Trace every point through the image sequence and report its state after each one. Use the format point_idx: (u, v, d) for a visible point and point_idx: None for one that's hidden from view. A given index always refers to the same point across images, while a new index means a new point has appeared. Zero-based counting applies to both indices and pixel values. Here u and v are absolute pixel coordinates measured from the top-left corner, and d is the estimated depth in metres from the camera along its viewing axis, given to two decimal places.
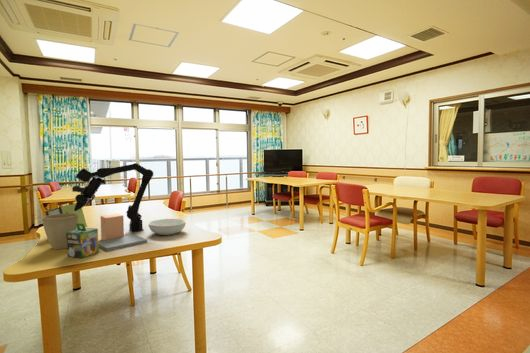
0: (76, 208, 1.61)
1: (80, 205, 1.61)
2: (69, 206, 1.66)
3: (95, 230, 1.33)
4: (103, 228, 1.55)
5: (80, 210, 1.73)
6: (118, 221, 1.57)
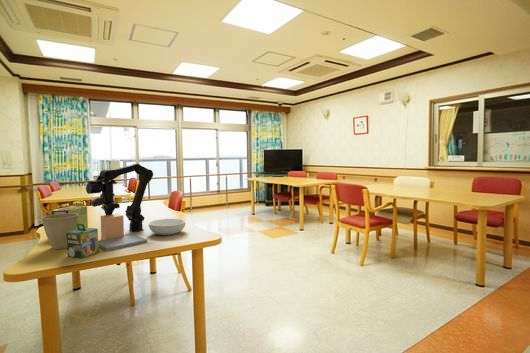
0: None
1: (110, 212, 1.61)
2: (76, 210, 1.66)
3: (95, 230, 1.33)
4: (103, 228, 1.55)
5: (85, 214, 1.73)
6: (118, 221, 1.56)
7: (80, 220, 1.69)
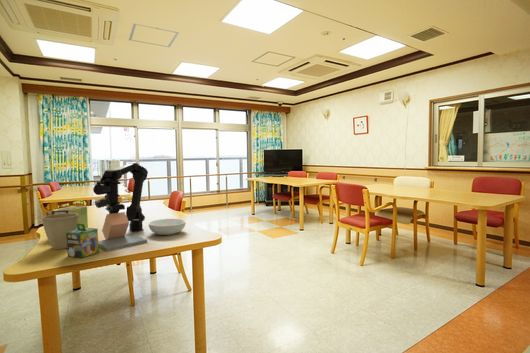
0: None
1: None
2: (76, 210, 1.66)
3: (95, 230, 1.33)
4: (106, 227, 1.52)
5: (85, 214, 1.73)
6: (123, 226, 1.53)
7: (80, 220, 1.69)
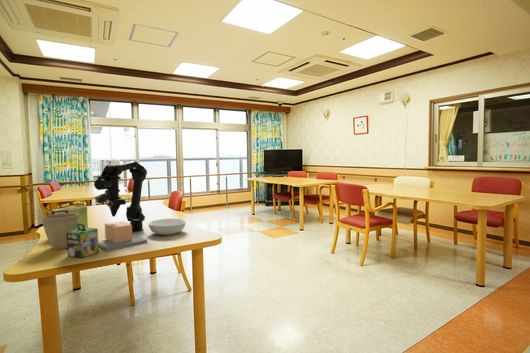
0: (114, 213, 1.55)
1: (116, 208, 1.55)
2: (76, 210, 1.66)
3: (95, 230, 1.33)
4: (109, 232, 1.49)
5: (85, 214, 1.73)
6: None
7: (80, 220, 1.69)
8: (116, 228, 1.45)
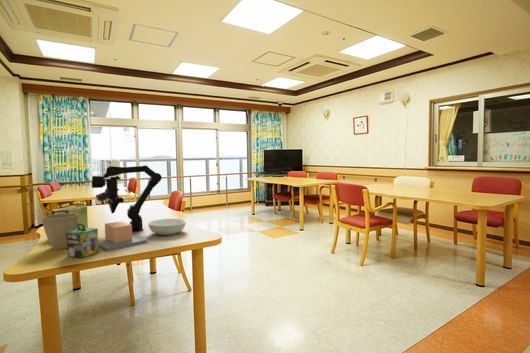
0: (113, 210, 1.70)
1: (115, 206, 1.70)
2: (76, 210, 1.66)
3: (95, 230, 1.33)
4: (109, 232, 1.49)
5: (85, 214, 1.73)
6: None
7: (80, 220, 1.69)
8: (116, 228, 1.45)
